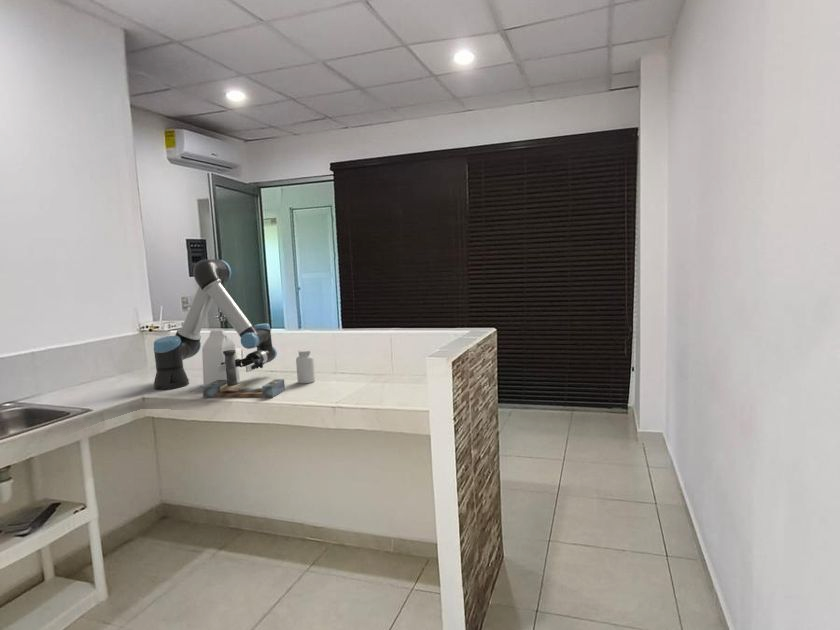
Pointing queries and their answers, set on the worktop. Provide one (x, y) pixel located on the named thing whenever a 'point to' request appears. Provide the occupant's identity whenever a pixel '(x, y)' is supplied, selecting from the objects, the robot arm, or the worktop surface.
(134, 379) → the worktop surface
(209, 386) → the rail track
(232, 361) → the dark grey post
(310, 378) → the pill bottle
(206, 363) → the milk
